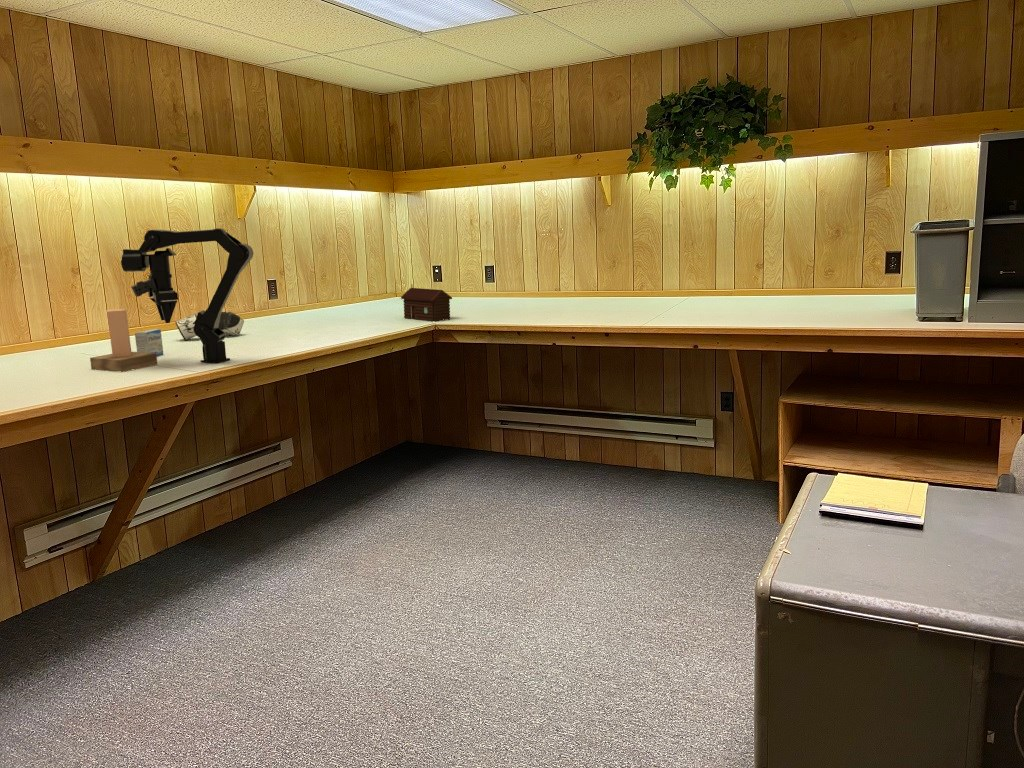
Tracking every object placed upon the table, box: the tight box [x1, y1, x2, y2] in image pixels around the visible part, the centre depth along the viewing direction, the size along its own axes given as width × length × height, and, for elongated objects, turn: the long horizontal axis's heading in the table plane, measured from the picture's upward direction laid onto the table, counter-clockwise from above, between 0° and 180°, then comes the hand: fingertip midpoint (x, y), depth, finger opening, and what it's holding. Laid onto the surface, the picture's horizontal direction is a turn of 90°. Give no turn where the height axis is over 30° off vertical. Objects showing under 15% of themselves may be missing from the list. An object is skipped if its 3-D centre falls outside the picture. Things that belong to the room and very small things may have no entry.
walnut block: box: [89, 351, 158, 373], centre depth 242 cm, size 13×13×4 cm
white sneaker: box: [174, 311, 245, 342], centre depth 300 cm, size 25×10×10 cm, turn 129°
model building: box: [400, 283, 453, 322], centre depth 348 cm, size 21×12×15 cm, turn 48°
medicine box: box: [134, 328, 164, 357], centre depth 260 cm, size 8×4×9 cm, turn 170°
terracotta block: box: [106, 308, 133, 358], centre depth 240 cm, size 5×5×14 cm
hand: (165, 321), depth 245 cm, fingers open, 9 cm apart
